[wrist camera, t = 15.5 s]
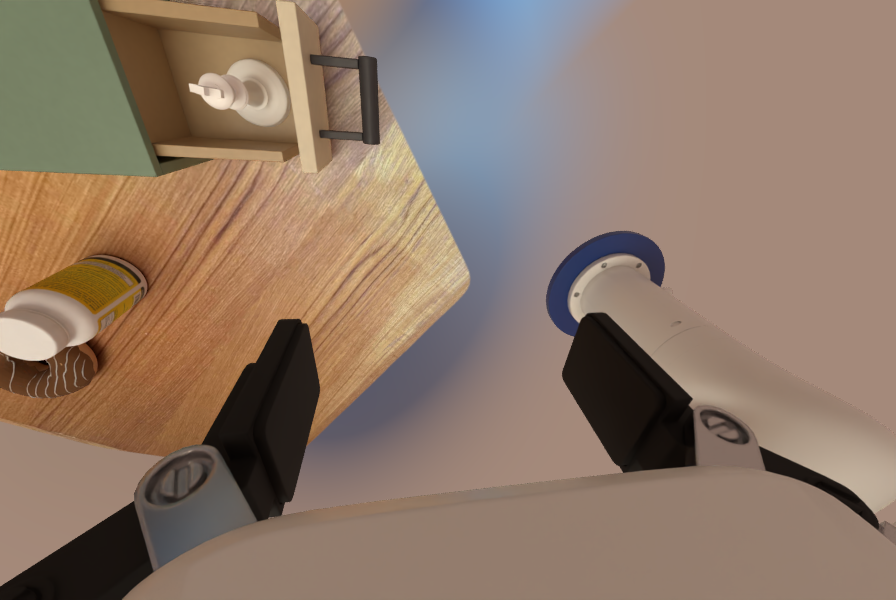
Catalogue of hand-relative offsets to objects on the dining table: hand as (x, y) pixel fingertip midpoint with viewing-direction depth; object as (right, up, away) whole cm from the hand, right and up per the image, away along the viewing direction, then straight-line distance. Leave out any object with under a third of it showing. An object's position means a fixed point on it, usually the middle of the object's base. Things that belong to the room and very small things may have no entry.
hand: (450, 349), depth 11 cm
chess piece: (-16, +20, +16) cm, 30 cm away
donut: (-49, -4, +28) cm, 57 cm away
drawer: (-15, +20, +17) cm, 31 cm away
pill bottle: (-38, +4, +25) cm, 45 cm away
